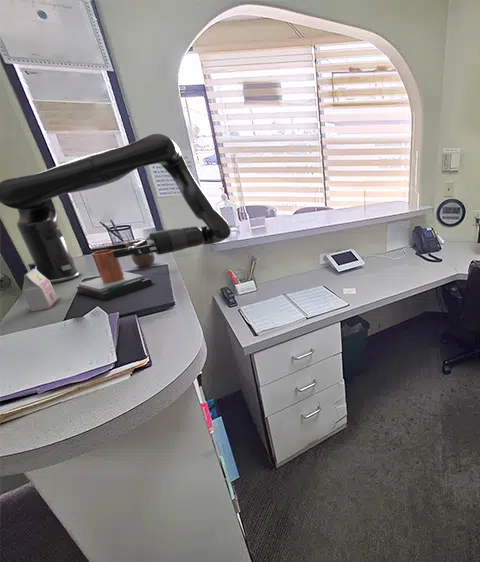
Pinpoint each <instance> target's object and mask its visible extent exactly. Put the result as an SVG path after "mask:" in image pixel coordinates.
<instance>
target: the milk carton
mask: <svg viewBox="0 0 480 562" xmlns="http://www.w3.org/2000/svg"><path fill="white" fill-rule="evenodd" d="M21 293H22V294H23V296H24V299H25V301H26V303H27V304H28V307H29V309H30V311H31V312H37V311H41V310H47V309H51V308H52V307H53V306H54V305H55V304H56V302H57V301H59V297H58V296H57V294H56V291H55V289H54V286H53V285H52V283H51V282H50V280H48V279H47V278H46V277H45V276H43V275H42V274H41V273H40V272H39V271H38V270H37V269H36V268H35V269H32V270H30V271H27V273H24V275H23V284H22V289H21Z"/></svg>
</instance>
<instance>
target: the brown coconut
mask: <svg viewBox="0 0 480 562" xmlns="http://www.w3.org/2000/svg"><path fill="white" fill-rule="evenodd" d="M130 257H131V260H132V262H133V263H134V264H135V265H136V266H137V267H139V268H147V267H152V265H154V263H155V259H156V258H155V257H156V256H155V254H154V252H153V253H149V254H144V255H140V256H135V255H134V256H131V255H130Z"/></svg>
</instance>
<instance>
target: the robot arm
mask: <svg viewBox="0 0 480 562" xmlns="http://www.w3.org/2000/svg"><path fill="white" fill-rule="evenodd" d="M155 164H160V166H162V168H163V169H165V171H166V172H167V173H168V174H169V175H170V177H171V178H172V179H173V181H174V183H175V184H176V186H177V188H178V190H179V191H180V193H181V196H182V198H183V199H184V201H185V203H186V204H187V206H188V207H189V209H190V211H191V212H192V213H193V215H194V217H196V219H197V220H198V221H202V222H203V223H204V224H205V226H199V227H198V226H187V227H181V228H170V229H163V230H158V231H152V232H150V233H149V239H144V238H137V239H130V240H125V241H123V240H122V241H121V242H120V243H117V244H112V245H107V246H105V250H108V249H114V251H112V252H113V255H114V257H115V258H118V259H119V258H123V257H129V256H130V257H131V256H134V255H135V256H140V255H144V254H149V253H153V254H154V253H155V254H156V255H157V256H161V255H165V254H170V253H175V252H180V251H183V250H185V249H189V248H195V247H198V246H202V245H203V246H205V245H212V244H218V243H221V242H224V241H225V240H226V239H228V238H229V237H230V236H231V233H232V230H231V227H230V224H229V222H228V221H227V220H226V219H225V218H224V216H223V215H221V214H220V212H218V211H217V210H216V209H215V207H214V206H213V204H212V202H211V201H210V199H209V198H208V197H207V195H206V193H205V192H204V190H203V189H202V187H200V185H199V184H198V182H197V181H196V179H195V177H194V176H193V174H192V172H191V171H190V169H189V167H188V165H187V163H186V160H185V159H184V155H182V152H181V150H180V147H179V146H178V144H177V143H176V142H175V141H174V140H173V139H172V138H170V137H169V136H167V135H165V134H162V133H153V134H149V135H147V136H144V137H143V138H140V139H138V140H136V141H134V142H130V143H129V144H126V145H122V146H119V147H115V148H111V149H107V150H103V151H100V152H97V153H92V154H89V155H85V156H82V157H79V158H75V159H73V160H70V161H67V162H64V163H62V164H59V165H56V166H54V167H52V168H49V169H46V170H44V171H40V172H37V173H32V174H28V175H25V176H24V175H22V176H18V177H11V178H5V179H3V180H1V181H0V204H1V205H3V206H5V207H7V208H11V209H14V210H17V212H18V220H17V222H16V227H17V230H18V231H19V233H20V236H21V238H22V240H23V242H24V244H25V246H26V249H27V251H28V253H29V255H30V257H31V259H32V263H28V264H27V266H28V268H29V270H30V271H31V270H32V269H35V268H36V269H37V270H38V271H39V272H40V273H41V274H42V275H43V276H45V277H46V278H47V279H48V280H50V282H51V284H54V283H61V282H66V281H69V280H73V279H75V278H77V277H79V276H80V273H79V271H78V269H77V266H76V263H75V261H74V259H73V256H72V255H71V251H70V249H69V246H68V244H67V242H66V240H65V237H64V234H63V232H62V230H61V228H60V225H59V216H58V212H57V210H56V207H55V204H54V201H53V198H56V197H58V196H63V195H67V194H71V193H72V194H73V193H77V192H83V191H88V190H93V189H96V188H101V187H103V186H106V185H109V184H112V183H114V182H117V181H119V180H121V179H123V178H124V177H126V176H127V175H129V174H130V173H132V172H133V171H135V170H137V169H140V168H143V167H147V166H151V165H155Z"/></svg>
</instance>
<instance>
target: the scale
mask: <svg viewBox="0 0 480 562" xmlns="http://www.w3.org/2000/svg"><path fill="white" fill-rule="evenodd" d="M122 271H123V274H124V277H125V278H124V279H122V280H120V281H116V282H111V283H103V282H102V279H101V277H100V276H99V277H96V278H93V279H89V280H86V281H82V282H78V286H76V289H77V291H78V292H77V293H78V294H81V295H85V296H87V297H92V298H95V299H98V300H103V301H109V300H113V299H115V298H119V297H122V296H124V295H126V294H130V293H132V292H135V291H138V290H141V289H144V288H148V287H150V286H152V285H153V281H152V278H149V277H145V275H143V274H138V273H133V272H129V271H124V270H122Z"/></svg>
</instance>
